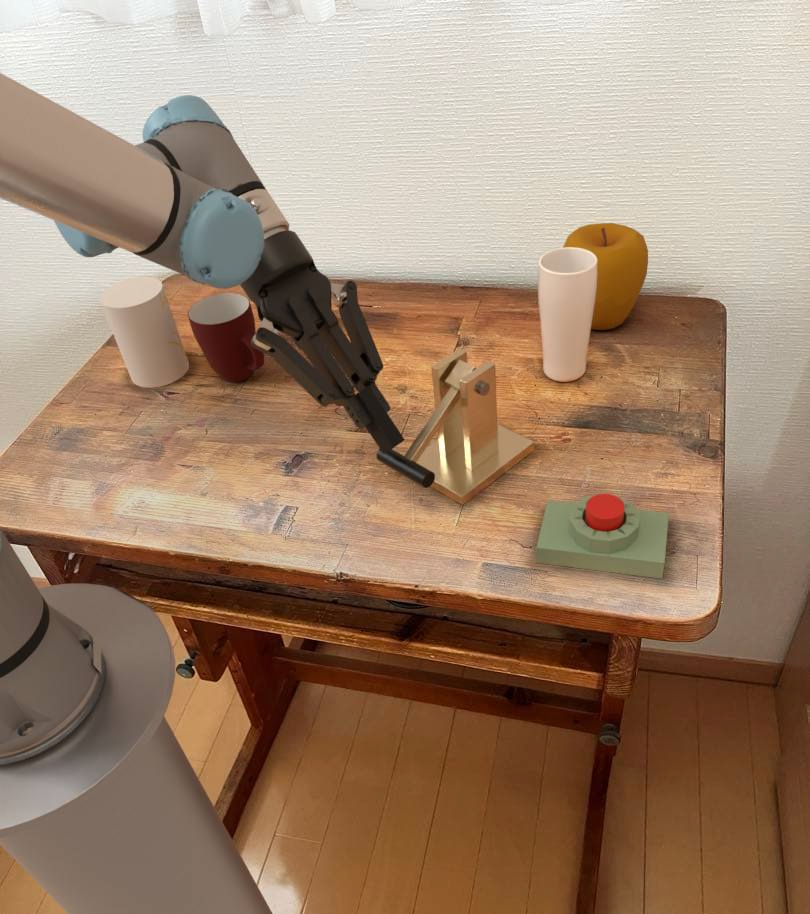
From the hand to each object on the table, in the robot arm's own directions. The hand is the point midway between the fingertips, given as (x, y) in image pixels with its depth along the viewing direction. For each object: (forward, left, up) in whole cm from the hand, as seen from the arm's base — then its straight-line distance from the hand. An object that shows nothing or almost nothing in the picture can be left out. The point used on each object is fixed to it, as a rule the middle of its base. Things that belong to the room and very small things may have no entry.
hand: (394, 447), depth 85 cm
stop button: (+22, -3, -4) cm, 22 cm away
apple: (+17, +40, -8) cm, 44 cm away
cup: (-41, +21, -8) cm, 47 cm away
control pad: (+22, -3, -8) cm, 23 cm away
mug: (-28, +21, -8) cm, 36 cm away
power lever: (+4, +5, -1) cm, 6 cm away
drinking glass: (+14, +27, -8) cm, 32 cm away
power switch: (+6, +8, -8) cm, 13 cm away
